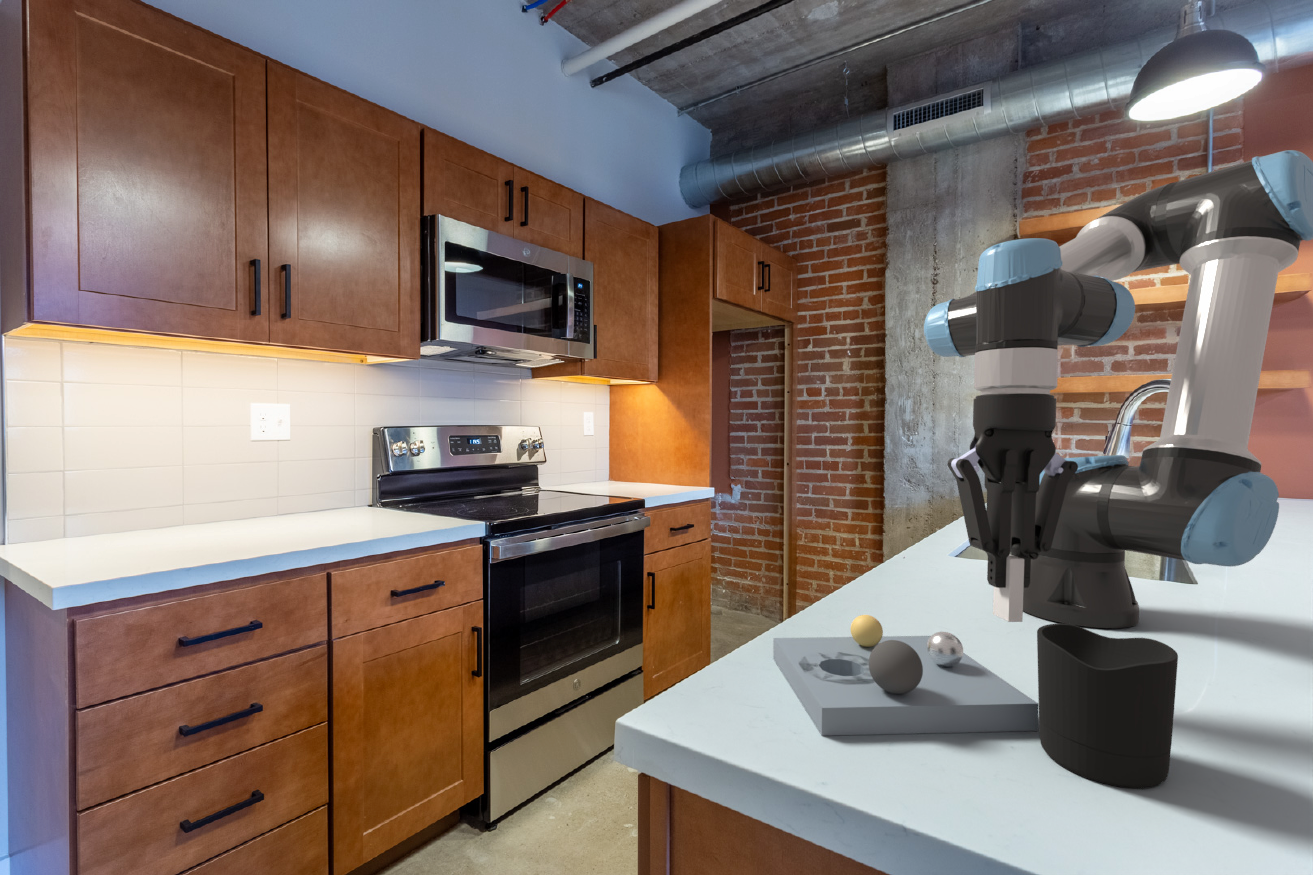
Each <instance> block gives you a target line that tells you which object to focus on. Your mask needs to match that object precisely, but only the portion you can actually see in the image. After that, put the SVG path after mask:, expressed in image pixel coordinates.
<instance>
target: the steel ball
mask: <svg viewBox="0 0 1313 875" xmlns="http://www.w3.org/2000/svg"><path fill="white" fill-rule="evenodd" d="M930 636H931V637H930V638H929V640H928V642H927V652H928V655H929V656H930V658H931V659H932V660H933V661H934V662H935V663H937V664H938V665H940V666H944V667H951V666H954V665H956V664H958V663H959V662H960V661H961V659H962V657H963V653H964V647H963V644H962V641H961V640H960V639H959V638H958V637H957V636H956V635H955V634H953V633H951V632H948V631H938V632H935V633H933V634H932V635H930Z"/></svg>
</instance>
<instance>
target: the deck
mask: <svg viewBox="0 0 1313 875" xmlns="http://www.w3.org/2000/svg"><path fill="white" fill-rule="evenodd" d="M931 636H932V635H900V636H899V635H893V636H888V635H887V636H883V635H882V639H881V640H880V642H879V643H878V644H880V643H881V642H884V641H887V640H897V641H901V642H904V643H906V644H908V645H909V646H911V647H912V648H913V649H914V650H915V651H916V652H917V654H918V655H919V657H920V659H921V662H922V666H923V675H922V678H921V681H920V683H919V684H918V686H917V687H916V688H915V689H913V690H912V691H910V692H908V693H904V694H894V693H890V692H887V691H885V690H884V689H882V688H881V687H880V686H878V685H877V684H876V682H875V681H874V680H873V678H872V676H871V674H870V671H869V657H870V654H871V652H872V650H873V649H874V648H875V647H876V646H877V645H878V644H876V645H875V646H871V647H865V646H862V645H860V644H858V643H857V642H856V641H855V640H854V639H853V637H852V636H830V637H829V636H827V637H823V636H822V637H821V636H820V637H819V636H817V637H811V636H810V637H773V644H772V645H773V649H772V650H773V651H772V652H773V653H772V654H773V655H772V656H773V658H772V660H773V661H774V662H775V664H776V665H777V667H778V668H779V671H780V672H781V673H782V675H783V677H784V679H785V680H786V681H787V683H788V684H789V686H790V688H791V689H792V692H794V694H795V696H796V697H797V699H798V700H799V702H800V703H801V705H802V707H803V708H804V710H805V711H806V714H808V716H809V718H810V720H811V721H812V723H813V725H814V726H815V727H816V729H817V731H818V732H819V733H820V736H860V735H861V736H862V735H864V736H865V735H906V734H907V735H908V734H910V735H911V734H912V735H914V734H945V733H946V734H949V733H952V734H954V733H989V732H990V733H993V732H1000V733H1001V732H1030V731H1031V732H1037V731H1039V702H1037V701H1036V700H1034V699H1032V697H1030V696H1028V695H1026V694H1025V693H1024V692H1022V691H1020V689H1018V688H1016V686H1015V687H1014V685H1012V684H1010V683H1009V682H1008V681H1006V680H1004V679H1003V678H1002V677H1000V676H999V675H997V674H996V673H995V672H992V671H991V670H990V669H988V668H987V667H985V666H984V665H982V664H981V663H979V662H978V661H976V659H973V658H972V657H971V656H969V655H968V654H966V653H965V652H963V657H962V659H961V661H960V662H959V663H958V664H956V665H954V666H951V667H944V666H940V665H938V664H937V663H935V662H934V661H933V660H932V659H931V658H930V656H929V655H928V652H927V642H928V640H929V638H930V637H931Z"/></svg>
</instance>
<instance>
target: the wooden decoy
mask: <svg viewBox="0 0 1313 875" xmlns="http://www.w3.org/2000/svg"><path fill="white" fill-rule="evenodd" d="M850 635H851V637H853V639H854V640H855V641H856V642H857V643H858V644H860V645H862V646H865V647H871V646H875V645H876V644H878V643H879V642H880V640H881V639H882V636H883V635H884V630H883V626H882V624H881V622H880V621H879V620H878V619H877V618H876V617H874V616H872V615H870V614H861V615H858V616H857V617H855V618H854V619H853V620H852V622H851V624H850Z"/></svg>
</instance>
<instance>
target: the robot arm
mask: <svg viewBox="0 0 1313 875" xmlns="http://www.w3.org/2000/svg"><path fill="white" fill-rule="evenodd" d="M1312 240H1313V160H1312V159H1311V158H1310V157H1309V156H1308V155H1306V154H1305V153H1304V152H1301V151H1299V150H1294V149H1290V150H1289V149H1288V150H1287V149H1286V150H1283V151H1278V152H1274V153H1271V154H1267V155H1264V156H1263V155H1262V156H1253V157H1252V158H1251V160H1246V161H1243V162H1240V163H1236V164H1234V165H1229V166H1226V167H1223V168H1219V169H1215V170H1213V171H1209V172H1206V173H1203V174H1198V175H1194V176H1191V177H1189V178H1185V179H1181V180H1178V181H1174V182H1169V183H1166V184H1163V185H1160V186H1158V187H1154V188H1153V189H1150V190H1148V191H1145V192H1144V193H1142V194H1139V195H1137V196H1135V197H1134V198H1132V199H1130V200H1128V201H1126V202H1124V203H1122V204H1120V205H1119V206H1117V207H1115V208H1112V209H1111V210H1109V211H1108V212H1106V213H1105V214H1103V215H1101V216H1098V217H1097V218H1095V219H1093V220H1091V221H1090V222H1088V223H1087V224H1086V225H1084V226H1083V227H1082V228H1081V229H1080V230H1079V232H1078V233H1077V234H1076V237H1075V238H1073V239H1071V240H1069V241H1066V242H1065V243H1063V244H1062V245H1060V246H1059V245H1058V243H1057V241H1055V240H1051V239H1048V238H1042V237H1041V238H1039V237H1038V238H1037V237H1036V238H1035V237H1034V238H1031V237H1030V238H1020V239H1012V240H1007V241H1003V242H1000V243H999V242H998V243H997V244H994V245H991V246H990V247H987V248H986V249H985V250H984V251H983V252H982V253H981V254H980V256H979V259H978V266H977V277H976V285H975V287H974V291H975V292H974V293H971V294H969V295H967V296H964V297H961V298H952V299H949V300H948V301H944V302H940V303H937V304H936V305H934V306H933V307H931V308H930V310H929V311H928V312H927V315H926V317H925V320H924V323H923V334H924V337H925V340H926V343H927V346H928V347H929V348H930V350H931V351H932V352H933V353H935V355H938V356H940V357H944V358H948V357H949V358H951V357H959V358H966V357H968V356H974V383H973V384H974V389H975V390H976V391H979V392H980V394H979V395H976V396H975V398H973V402H972V403H973V407H972V408H973V410H972V411H973V412H972V427H973V432H974V435H973V438H972V440H971V442H970V444H969V450H968V451H967V452H966V453H964V454H962V455H961V456H959V457H957V458H955V457H951V458H949V460H948V461H947V467H948V469H949V470H950V472H951V474H952V475H953V477H954V478H955V481H956V484H957V491H958V494H959V498H960V499H959V500H960V504H961V509H962V514H963V518H964V524H965V530H966V533H967V539H968V543H969V545H970V546H971V547H973V548H975V549H978V550H981V551H983V552H985V554H986V555H987V571H986V572H987V573H986V574H987V575H986V576H987V578H986V579H987V582H988V583H987V584H988V585H990V586H992V587H993V599H992V600H993V601H992V602H993V604H992V615H994V616H997V617H998V618H1000V619H1002V620H1004V621H1005V622H1007V623H1022V622H1023V613H1024V612H1025V613H1026V614H1028V615H1032V616H1035V617H1038V618H1040V619H1044V620H1048V621H1053V622H1058V623H1063V624H1071V625H1075V626H1079V627H1086V628H1096V629H1097V628H1098V629H1100V628H1101V629H1123V628H1124V629H1125V628H1131V627H1135V626H1136V625H1138V624H1139V623H1140V604H1139V602H1138V601H1137V599H1136V595H1135V592H1134V589H1133V586H1132V582H1131V580H1130V577H1129V575H1128V571H1127V569H1126V565H1125V564H1126V563H1125V561H1126V560H1125V559H1126V551H1127V552H1133V553H1139V554H1145V555H1153V556H1157V557H1163V558H1167V559H1168V558H1169V559H1174V560H1180V561H1185V562H1189V563H1191V564H1194V565H1204V564H1205V565H1211V566H1213V565H1214V566H1220V567H1238V566H1241V565H1245V564H1246V563H1249V562H1251V561H1252V560H1254V558H1255V557H1256V556H1258V555H1260V553H1261V552H1262V551H1263V550H1264V548H1266V546H1267V545H1268V543H1269V541H1270V539H1271V537H1272V534H1273V533H1274V530H1275V528H1276V525H1277V521H1278V518H1279V513H1280V512H1279V511H1280V503H1279V502H1278V499H1279V497H1280V494H1279V489H1278V486H1277V484H1276V483H1275V481H1274V480H1273V479H1272V478H1271V477H1270V476H1268V475H1266V474H1264V473H1262V472H1261V471H1262V466H1263V465H1262V461H1261V460H1259V458H1257V457H1256V456H1255V455H1254V454H1253V453H1252V452H1251V451H1250V450H1249V448H1248V445H1249V440H1250V436H1251V434H1250V433H1251V430H1252V429H1251V428H1252V422H1253V418H1254V414H1255V413H1254V412H1255V407H1256V400H1257V395H1258V390H1259V385H1260V379H1261V373H1262V372H1261V371H1262V368H1263V362H1264V355H1265V350H1266V343H1267V339H1268V333H1269V328H1270V323H1271V316H1272V310H1273V305H1274V299H1275V293H1276V288H1277V282H1278V276H1279V275H1278V274H1279V273H1280V272H1282V271H1283V270H1285V269H1287V268H1289V267H1290V266H1292V265H1293V264H1295V262H1296V261H1297V260H1298V256H1299V250H1300V246H1301V243H1302V241H1305V242H1308V241H1312ZM1173 265H1179V266H1180V267H1181V269H1182V270H1184V271H1185V272H1186V273H1187V274H1188V275H1190V277H1189V278H1190V279H1189V284H1188V289H1187V294H1186V300H1185V304H1184V305H1185V306H1184V309H1183V314H1182V315H1183V316H1182V319H1181V320H1182V321H1181V326H1180V331H1179V337H1178V341H1177V347H1176V352H1175V357H1174V363H1173V368H1172V372H1171V377H1170V383H1169V384H1170V385H1169V389H1168V393H1167V397H1166V404H1165V409H1164V414H1163V420H1162V425H1161V430H1160V435H1159V439H1158V440H1157V441H1155V442H1153V443H1151V444H1149V445H1148V446H1146V447H1143V449H1142V452H1141V458H1140V459H1141V460H1140V463H1139V465H1135V466H1134V465H1133V466H1132V465H1129V463H1130V462H1129V461H1128V459H1127V457H1126V455H1123V454H1117V455H1116V454H1115V455H1110V454H1109V455H1095V456H1093V455H1092V456H1079V457H1078V456H1077V457H1064V458H1063V457H1062V456H1061V455H1060V454H1058V453H1057V446H1056V444H1055V442H1054V441H1053V436H1052V435H1053V432H1054V430H1055V428H1056V425H1057V420H1056V418H1057V398H1056V397H1055V395H1052V394H1051V391H1052V390H1056V389H1057V388H1058V375H1059V374H1058V365H1059V364H1058V361H1059V360H1058V358H1059V354H1058V352H1059V348H1058V347H1060V346H1072V345H1073V346H1077V347H1078V348H1086V347H1101V346H1105V345H1109V344H1111V343H1113V342H1115V341H1117V340H1119V338H1121V337H1122V336H1123V335H1124V334H1125V333H1126V332H1127V330H1128V329H1129V328H1130V327H1131V325H1132V322H1133V320H1134V318H1135V313H1136V304H1135V299H1134V296H1133V295H1132V293H1131V291H1130V290H1129V289H1128V288H1127V287H1125V286H1124V285H1123V284H1121V283H1119V282H1116V281H1117V280H1121V279H1123V278H1126V277H1127V276H1129V275H1131V274H1132V273H1136V272H1140V271H1146V270H1150V269H1155V268H1156V269H1157V268H1162V267H1167V266H1173ZM980 469H981V471H982V472H983V474H984V488H985V489H986V502H985V497H984V492H983V486H982V484H981V479H980V477H979V474H978V472H979V471H980ZM1010 553H1011V554H1010Z"/></svg>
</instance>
